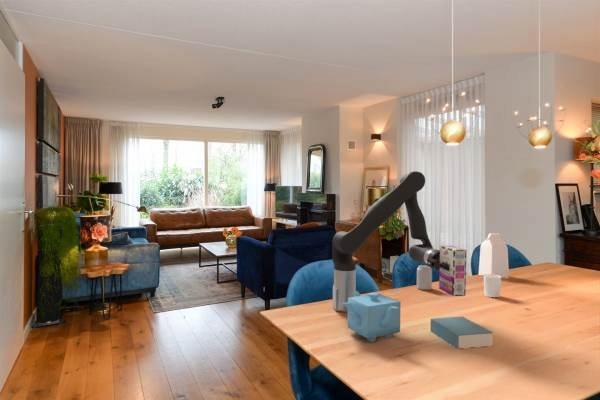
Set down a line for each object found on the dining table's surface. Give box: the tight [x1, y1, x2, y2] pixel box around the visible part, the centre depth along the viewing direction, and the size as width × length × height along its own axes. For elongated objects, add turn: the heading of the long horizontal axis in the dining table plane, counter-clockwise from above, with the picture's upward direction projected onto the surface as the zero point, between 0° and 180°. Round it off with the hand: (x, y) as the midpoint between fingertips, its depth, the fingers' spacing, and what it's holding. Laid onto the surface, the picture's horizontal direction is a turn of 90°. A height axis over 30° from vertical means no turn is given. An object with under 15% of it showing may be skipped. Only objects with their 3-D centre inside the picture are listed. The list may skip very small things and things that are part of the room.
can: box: [416, 264, 433, 291], centre depth 203 cm, size 8×8×12 cm
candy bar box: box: [438, 245, 467, 297], centre depth 141 cm, size 11×5×16 cm, turn 6°
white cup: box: [483, 274, 502, 299], centre depth 190 cm, size 8×8×10 cm
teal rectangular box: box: [430, 316, 494, 349], centre depth 135 cm, size 13×16×5 cm
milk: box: [478, 232, 510, 277], centre depth 234 cm, size 12×12×26 cm
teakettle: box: [341, 290, 401, 343], centre depth 137 cm, size 19×19×15 cm
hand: (455, 267), depth 138 cm, fingers closed on candy bar box, 5 cm apart
